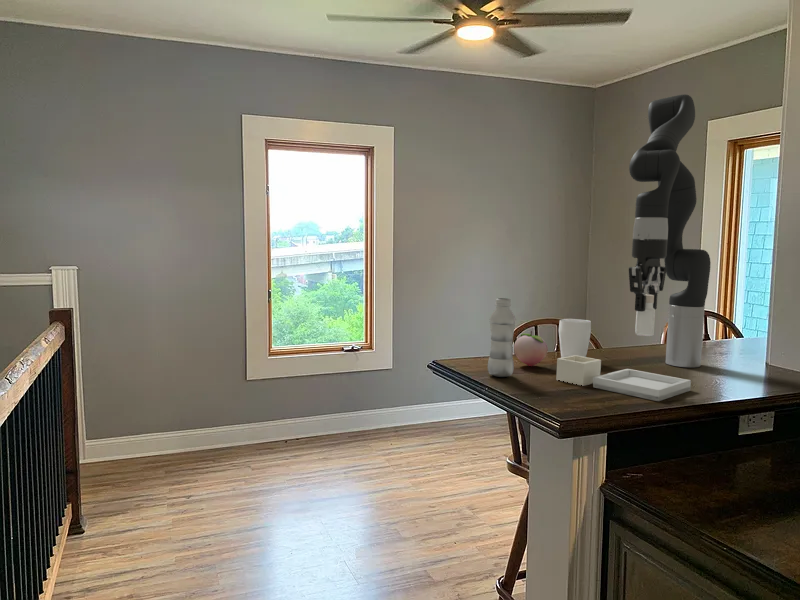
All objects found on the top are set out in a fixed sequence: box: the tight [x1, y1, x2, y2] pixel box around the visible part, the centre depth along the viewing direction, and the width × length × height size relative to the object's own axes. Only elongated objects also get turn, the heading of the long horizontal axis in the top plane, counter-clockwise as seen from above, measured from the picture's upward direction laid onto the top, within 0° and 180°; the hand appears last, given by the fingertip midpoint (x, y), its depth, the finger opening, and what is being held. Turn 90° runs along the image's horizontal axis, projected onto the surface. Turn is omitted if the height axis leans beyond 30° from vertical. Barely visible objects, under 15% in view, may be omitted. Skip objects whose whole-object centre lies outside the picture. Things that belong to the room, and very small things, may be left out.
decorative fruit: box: [513, 330, 549, 367], centre depth 166 cm, size 9×8×10 cm
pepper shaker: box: [634, 293, 656, 337], centre depth 141 cm, size 4×4×10 cm
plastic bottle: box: [487, 297, 517, 378], centre depth 153 cm, size 6×7×20 cm
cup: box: [558, 318, 592, 358], centre depth 175 cm, size 9×9×12 cm
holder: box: [555, 355, 602, 387], centre depth 150 cm, size 8×8×6 cm
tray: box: [592, 368, 692, 402], centre depth 143 cm, size 16×16×2 cm
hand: (645, 309), depth 141 cm, fingers closed on pepper shaker, 5 cm apart
